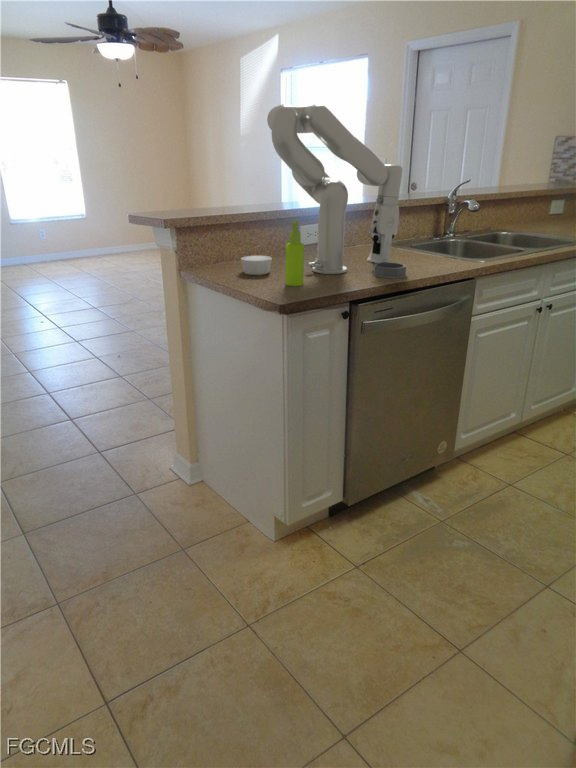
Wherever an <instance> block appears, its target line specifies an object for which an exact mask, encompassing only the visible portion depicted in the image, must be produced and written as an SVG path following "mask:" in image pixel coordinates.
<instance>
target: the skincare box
mask: <svg viewBox="0 0 576 768" xmlns="http://www.w3.org/2000/svg"><path fill="white" fill-rule="evenodd" d="M389 229H390V228H389ZM378 234H379V233H378ZM377 238H378V235H377ZM392 242H393V239H392V234H389V233H388V231H387V229H386V230H385V235H382V237H381V240H380V243H381V248H380V254H375V253H371V252H370V253H371V259H372V260H376V261H380V262H391V261H390V259H391V250H392ZM371 243H372V245H371V249H372V251H373V243H374V242H373V241H372V242H371Z"/></svg>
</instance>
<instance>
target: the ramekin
mask: <svg viewBox="0 0 576 768" xmlns="http://www.w3.org/2000/svg"><path fill="white" fill-rule="evenodd" d="M272 261H273V258H272V257H271V256H268V255H246V256H243V257H241V258H240V262H241V267H242V271H243V273H244V274H247V275H251V276H252V275H253V276H262V275H266V274H269V273H270V271H271V267H272Z"/></svg>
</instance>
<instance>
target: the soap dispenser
mask: <svg viewBox="0 0 576 768" xmlns="http://www.w3.org/2000/svg"><path fill="white" fill-rule="evenodd" d="M291 225H292V229H291V232H289V242H287V243H285V285H286V286H289V287H290V286H291V287H298V286H299V287H300V286H303V285H304V262H305V261H304V259H305V257H304V256H305V252H304V251H305V244H304V243H303V242H301V232H299V231H298V227H299V221H298V220H292V221H291Z"/></svg>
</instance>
